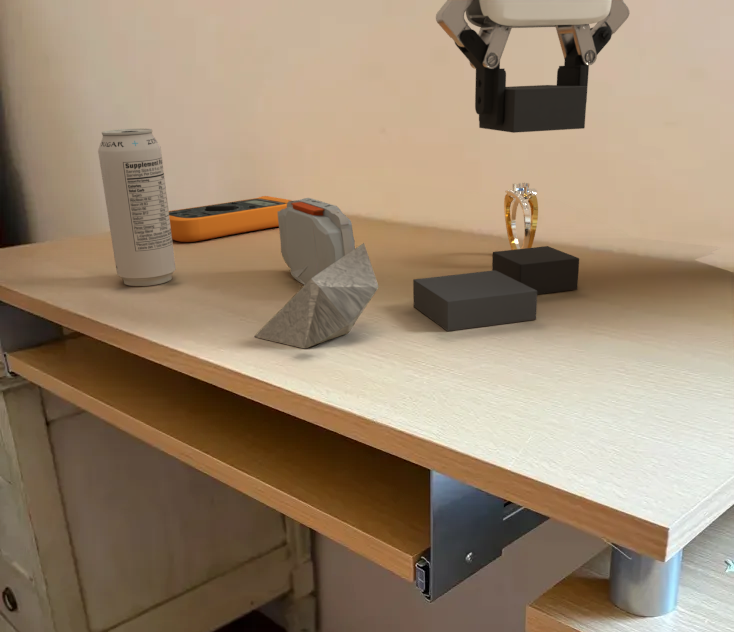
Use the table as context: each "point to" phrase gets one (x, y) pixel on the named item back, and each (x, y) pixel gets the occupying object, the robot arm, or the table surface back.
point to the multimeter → (225, 218)
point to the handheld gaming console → (313, 236)
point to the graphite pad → (539, 268)
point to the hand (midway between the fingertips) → (530, 120)
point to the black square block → (543, 108)
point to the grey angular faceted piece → (325, 303)
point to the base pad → (474, 300)
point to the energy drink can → (137, 206)
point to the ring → (510, 220)
